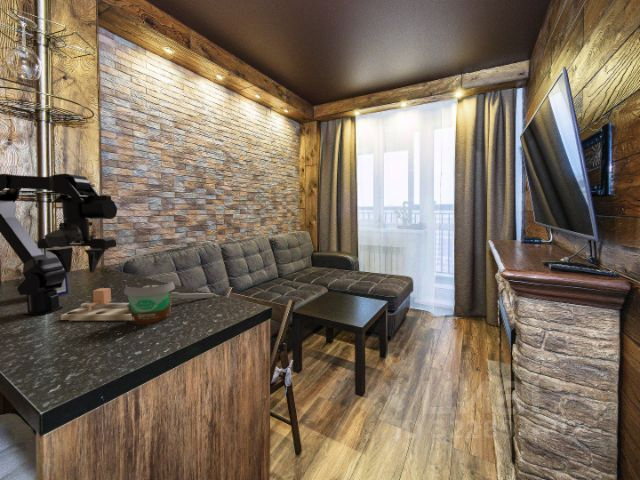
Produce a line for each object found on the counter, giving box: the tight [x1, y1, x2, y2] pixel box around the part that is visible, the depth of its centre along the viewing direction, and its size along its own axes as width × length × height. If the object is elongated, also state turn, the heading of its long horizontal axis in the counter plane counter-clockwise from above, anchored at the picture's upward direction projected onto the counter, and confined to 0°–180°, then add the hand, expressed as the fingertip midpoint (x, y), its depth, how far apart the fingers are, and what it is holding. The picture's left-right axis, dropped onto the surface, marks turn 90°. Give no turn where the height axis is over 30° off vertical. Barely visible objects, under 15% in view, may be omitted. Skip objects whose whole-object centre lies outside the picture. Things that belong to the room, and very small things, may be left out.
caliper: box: [171, 291, 218, 302], centre depth 99 cm, size 20×1×6 cm, turn 137°
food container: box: [123, 280, 176, 325], centre depth 81 cm, size 12×6×10 cm, turn 117°
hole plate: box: [60, 302, 132, 321], centre depth 87 cm, size 19×11×6 cm, turn 91°
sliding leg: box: [87, 287, 112, 311], centre depth 87 cm, size 3×7×5 cm, turn 1°
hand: (80, 272), depth 88 cm, fingers open, 7 cm apart
